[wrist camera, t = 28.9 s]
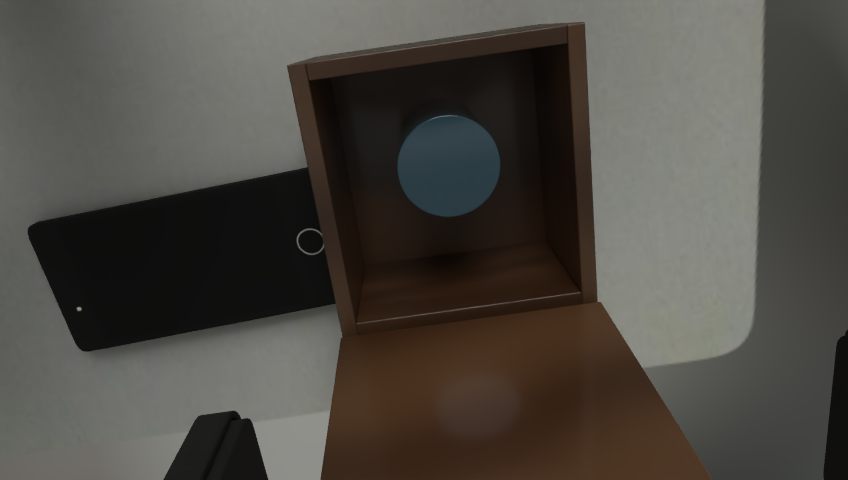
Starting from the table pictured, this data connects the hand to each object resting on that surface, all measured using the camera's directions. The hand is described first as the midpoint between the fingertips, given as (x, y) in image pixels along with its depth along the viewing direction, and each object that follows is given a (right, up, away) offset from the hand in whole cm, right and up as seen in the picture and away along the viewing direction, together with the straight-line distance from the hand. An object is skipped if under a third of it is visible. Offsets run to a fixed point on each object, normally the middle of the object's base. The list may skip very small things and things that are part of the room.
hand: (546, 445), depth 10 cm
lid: (+1, -4, +14) cm, 14 cm away
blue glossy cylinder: (-1, +9, +26) cm, 28 cm away
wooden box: (-1, +8, +27) cm, 28 cm away
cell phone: (-16, +2, +29) cm, 33 cm away
